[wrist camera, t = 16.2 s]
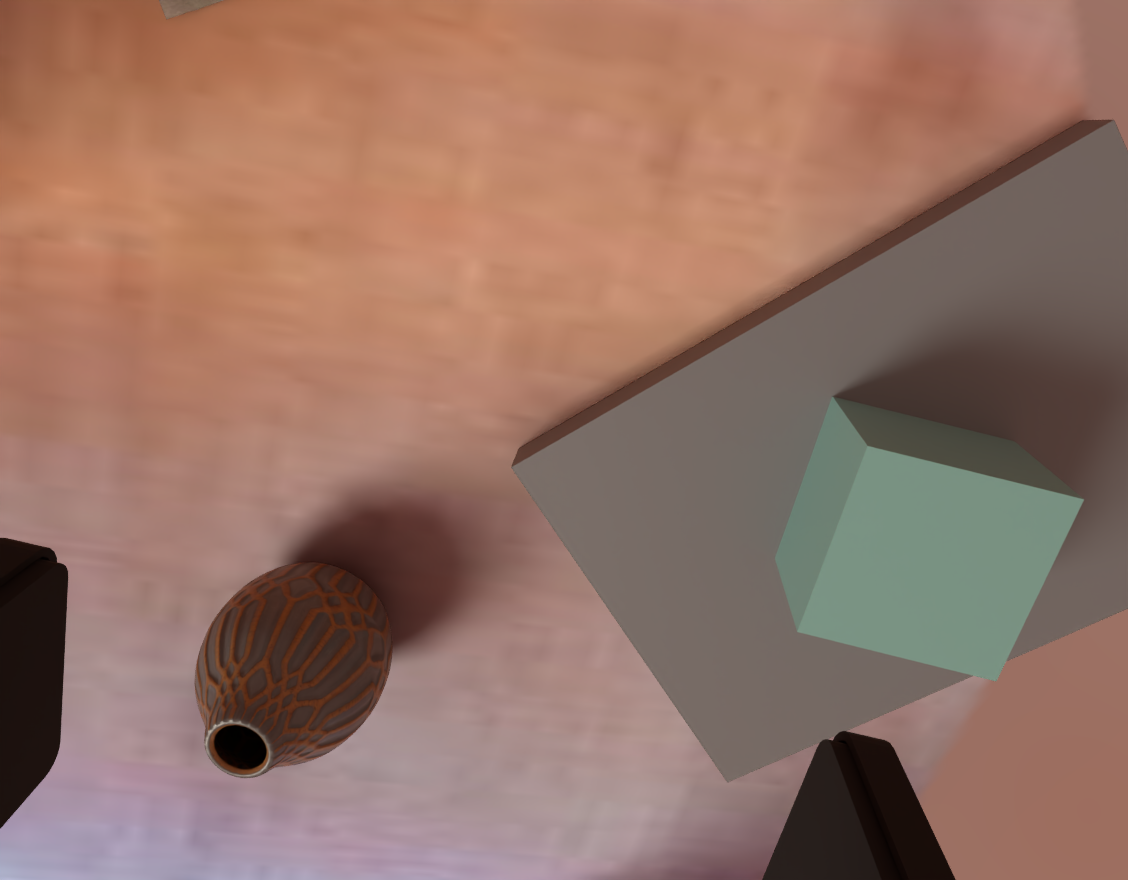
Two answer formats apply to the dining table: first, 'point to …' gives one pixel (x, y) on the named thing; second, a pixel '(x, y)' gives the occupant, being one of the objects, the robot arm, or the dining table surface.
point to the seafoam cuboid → (920, 538)
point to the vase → (291, 668)
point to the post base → (876, 378)
